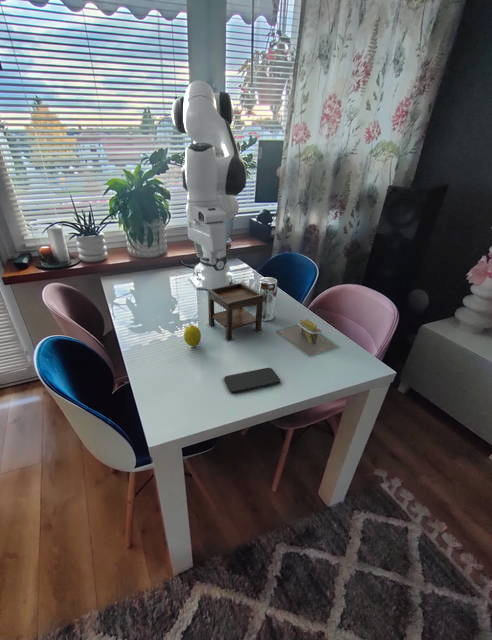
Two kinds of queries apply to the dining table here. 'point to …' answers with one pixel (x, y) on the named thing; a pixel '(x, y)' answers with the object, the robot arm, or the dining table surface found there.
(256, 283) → the shaker set
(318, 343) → the platform
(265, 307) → the beer glass
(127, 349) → the dining table surface
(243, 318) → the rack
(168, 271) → the dining table surface
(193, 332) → the lemon
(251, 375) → the phone
